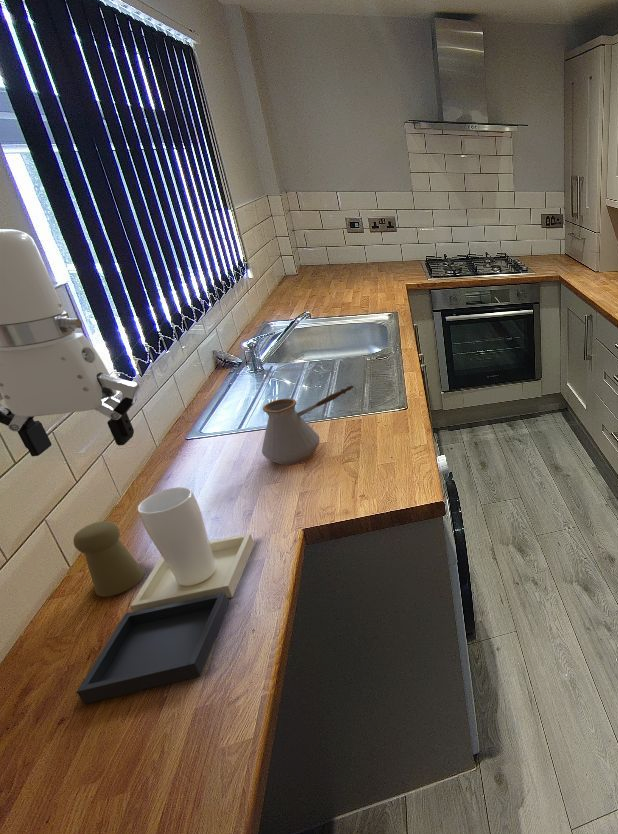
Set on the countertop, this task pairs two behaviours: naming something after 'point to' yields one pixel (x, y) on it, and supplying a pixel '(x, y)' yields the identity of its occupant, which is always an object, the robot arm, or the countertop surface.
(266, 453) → the coffee pot
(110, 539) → the cork
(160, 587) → the cream tray
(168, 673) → the charcoal tray
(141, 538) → the countertop surface
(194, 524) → the drinking glass
